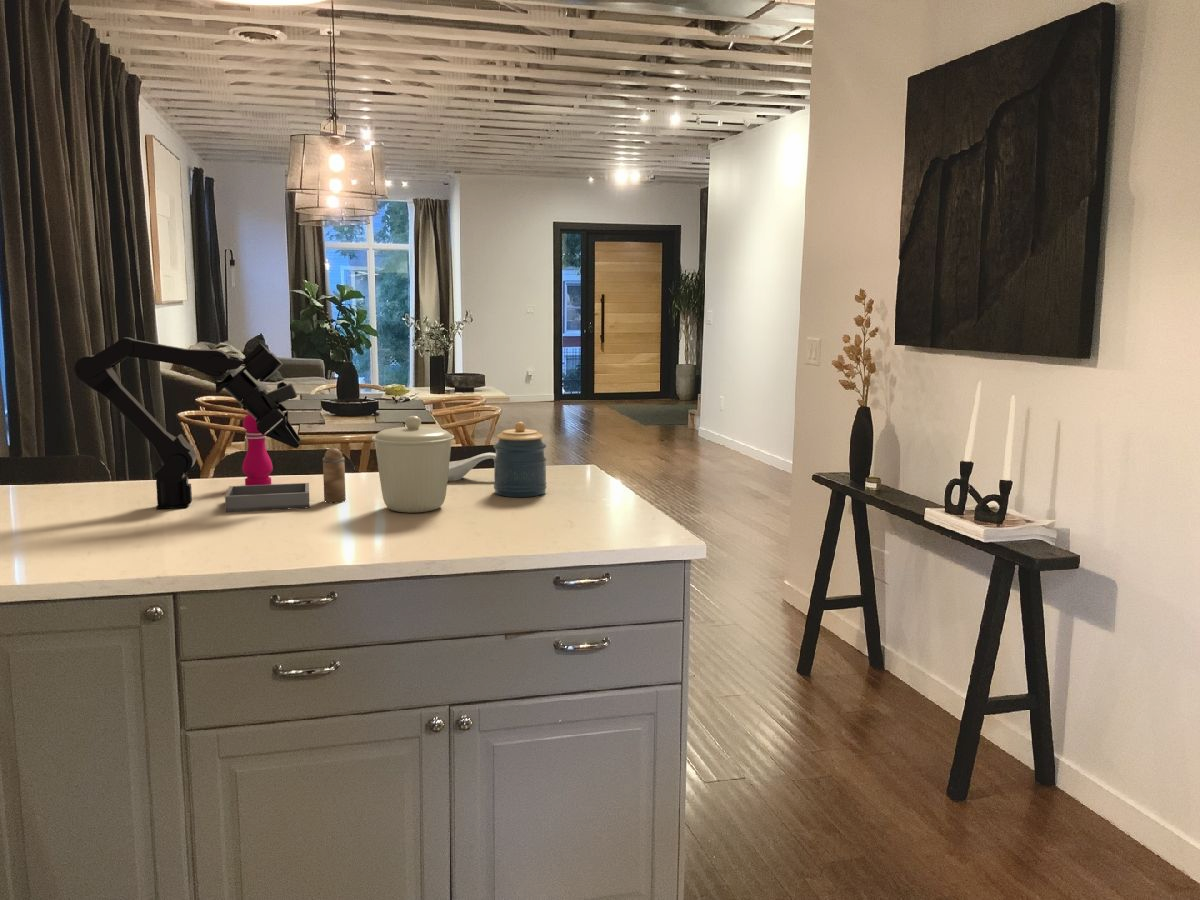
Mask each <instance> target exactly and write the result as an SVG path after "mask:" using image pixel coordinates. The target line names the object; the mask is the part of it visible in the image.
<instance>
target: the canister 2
mask: <svg viewBox="0 0 1200 900" xmlns="http://www.w3.org/2000/svg"><path fill="white" fill-rule="evenodd" d="M496 438H497V439H498V440H497V442H495V443H494V445H493V448H494V449H495V453H496V456H495V458H494V459H493V463H494V464H493V465H494V466H493V468H494V471H493V472H494V475H493V476H494V482H493V488H494V493H495V494H496V495H498V496H502V497H507V498H531V497H538V496H541V495H544V494H546V491H547V460H548V459H547V457H546V455H545V450H546V448H548V447H547V446H548V445H547V444H546V442H545V443H544V442H543V440H542V439H543V438H544V435H543V434H542V433H540V432H538V430H536V429H527V428H526V424H525V423H524V422H522V421H517V422H516V423H515V424H514V428H513V429H505V430H503V431H501V433H499V434H497V436H496Z"/></svg>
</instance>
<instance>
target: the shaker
mask: <svg viewBox="0 0 1200 900" xmlns="http://www.w3.org/2000/svg"><path fill="white" fill-rule="evenodd" d="M345 461H346V460H345V457H344V456H343V453H342V451H341V450H340V449H338V448H336V447H331V448H329V449H327V450H326V451H325V453H324V457H323V458H322V469H323V471H322V473H323V475H322V476H323V499H324V500H323V501H326V502H340V503H343V502H342V501H344V502H346V501H345V500H347V499H346V498H347V497H346V471H345V470H346V467H345ZM326 502H325V503H326Z"/></svg>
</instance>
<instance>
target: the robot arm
mask: <svg viewBox="0 0 1200 900" xmlns="http://www.w3.org/2000/svg"><path fill="white" fill-rule="evenodd" d="M129 357H133V358H138V359H142V360H143V359H144V360H149V361H155V362H161V363H167V364H172V365H178V366H184V367H186V368H190V369H192V370H195V371H197V372H199V373H202V374H206V375H208V376H211V377H221V376H224V375H225V374H226V373H228V372H229V371H231V370H237V369H239V368H240V367H242V366H243V365H244V367H243V368H241V370H239V372H237V373H236V374H233V373H232V372H229V373H228V374H227V375H226V376H225V377H224V378H223V379H221V380H215V381H214V383H215V391H214V392H215V393H216V394H219V393H220V392H221V391H223V390H224V391H225V390H226V392H227V393H228V394H229V395H230V396H231V397H232V398H233V399H234V400H235V401H237V403H239V405H240V406H241V409H243V410H244V411H246V412H247V413H248V414H251V415H252V416H253V417H254V418H255V419H256V420H255V421H256V422H257V430H258V431H259V432H260V433H261V434H262V435H264V434H265V433H266V432H267V433H266V434H265V436H266V438H267V437H268V438H270V439H272V440H275V441H278V442H280V443H282V444H285V445H287V446H289V447H291V448H294V449H298V448H299V447H300V441H301V438H300V437H299V435H298V433H297V432H296V430H295V428H294V427H293V425H292V424H291V423H290V420H289V410H287V409H288V407H286V405H285V404H284V402H287V401H288V400H294V399H296V398H297V397H298V394H297V391H296V389H295V387H294V385H293V383H291V382H290V383H289V384H288V383H286V382H285V381H281V382H279V383H277V385H276V386H277V387H276V389H273V390H270V391H267V390H266V389H265V388H261V387H260V386H259V385H258V384H257V383H256V382H255V381H259V380H260V379H261V380H262V381H266V380H267V379H268V378H269V377H271V376H272V375H273V374H274V373H275V372H276V371H278V370H279V369H280V367H282V366H283V365H284V364H283V362H281V360H280V359H279V358H278V357H277V356H276V354H274V353H273V352H271V351H270V350H269V349H268V348H267V347H266V346H264V345H263V344H262V343H258V344H257V345H256V346H255V347H254V348H253V350H252V351H251V352H249V354H247V355H246V356H245V357H244V358H241V357H240V356H239V357H237V356H232V355H229V354H228V352H226V351H225V350H222V349H207V348H206V349H202V348H201V349H199V348H198V349H197V348H195V349H194V348H192V349H191V348H183V347H178V346H171V345H166V344H161V343H155V342H151V341H150V342H149V341H144V340H138V339H135V338H132V337H123V338H119V339H118V340H117V341H116V342H114V343H113V344H111V345H109V346H107V347H106V348H105V349H103V350H101V351H99V352H98V353H96V354H93V355H92V354H91V355H87V356H82V357H81V358H78V360H77V361H76V362H75V364H74V367H73V368H74V369H73V371H74V375H75V376H76V378H77V380H79V381H81V382H82V383H83V384H84V385H86V386H87V387H89V388H90V389H92V390H93V391H95V392H97V393H98V394H100V395H102V396H103V397H105V398H106V399H107V400H108V401H109V402H110V403H111V404H112V405H113V406H114V407H115V408H116V409H117V411H119V412H120V413H121V414H122V416H124V417H125V419H127V421H129V422H130V424H131V425H133V426H134V427H135V428H136V429H137V430H138V431H139V433H141V434H142V436H143V437H144V438H145V439H146V440H147V441H148V442H149V443H150V444H151V445H152V447H153V448H154V450H155V452H156V454H157V455H158V458H159V459H160V461H161V462H162V466H161V467H160V468H159V469H158V470H157V471H156V472H155V473H154V477H155V478H156V479H155V480H156V481H155V485H156V486H155V487H156V498H157V499H156V500H157V505H156V506H155V509H157V510H158V509H159V510H160V509H161V510H162V509H183V508H188V507H189V506H190V504H191V503H192V502H193V496H192V495H193V493H192V491H193V490H192V483H189V477H188V476H186V475H187V473H188V472H190V470H191V468H193V466H194V465H195V463H196V461H197V460H196V459H197V455H196V452H195V449H194V448H195V445H193V444H191V443H190V442H189V441H188V440H187V439H186V438H185V436H184V435H183V434H182V433H180V434H179V435H178V436H174V435H173V434H171V433H170V432H168V431H167V430H166V429H165V428H164V427H163V426H162V425H161V424H160V423H159V422H158V421H157V419H156V418H155V417H154V416H152V414H150V413H149V411H148V410H146V408H145V407H144V406H143V405H142V404H141V403H140V402H139V401H138V400H137V398H135V397H134V396H133V395H132V394H131V393H130V391H128V390H127V388H125V387H124V385H123V384H122V383H121V381H120V379H119V376H118V375H117V373H116V371H115V370H114V369H113V368H114V367H116V366H118V365H119V364H120V363H122V362H123V361H124V360H126V359H127V358H129ZM245 371H246V372H247V373H246V372H245ZM248 374H249V375H250V376H251V377H252V378H253V379H254V380H255V381H254V380H253V379H252V378H251V377H250V376H249V375H248Z"/></svg>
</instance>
